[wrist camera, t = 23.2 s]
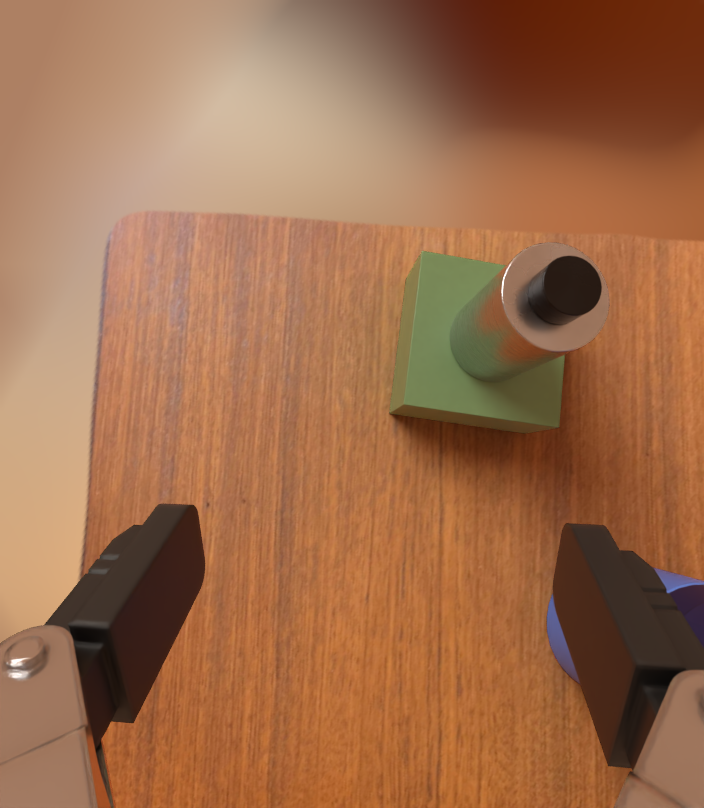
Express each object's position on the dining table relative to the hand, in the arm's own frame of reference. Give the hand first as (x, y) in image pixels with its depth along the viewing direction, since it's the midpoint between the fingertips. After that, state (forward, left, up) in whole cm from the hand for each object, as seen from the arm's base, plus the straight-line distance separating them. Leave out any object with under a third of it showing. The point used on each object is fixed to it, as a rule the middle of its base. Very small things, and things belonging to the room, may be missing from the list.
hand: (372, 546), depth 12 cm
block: (+7, +13, -25) cm, 29 cm away
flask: (+7, +13, -20) cm, 24 cm away
